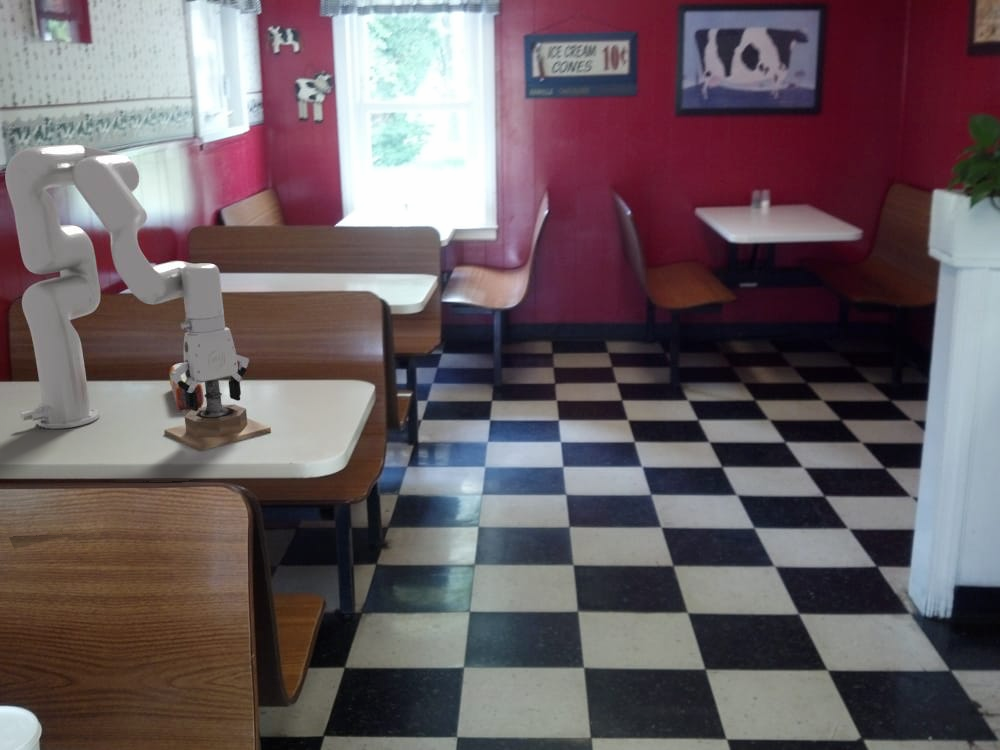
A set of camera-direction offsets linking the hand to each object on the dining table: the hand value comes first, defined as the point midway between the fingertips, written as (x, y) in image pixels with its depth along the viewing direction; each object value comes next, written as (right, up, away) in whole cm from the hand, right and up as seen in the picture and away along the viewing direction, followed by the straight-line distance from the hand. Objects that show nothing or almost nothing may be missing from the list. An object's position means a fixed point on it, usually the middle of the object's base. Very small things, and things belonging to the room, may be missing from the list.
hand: (214, 404), depth 213 cm
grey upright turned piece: (0, -5, +1) cm, 6 cm away
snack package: (-14, 0, +29) cm, 32 cm away
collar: (0, -6, +2) cm, 6 cm away
